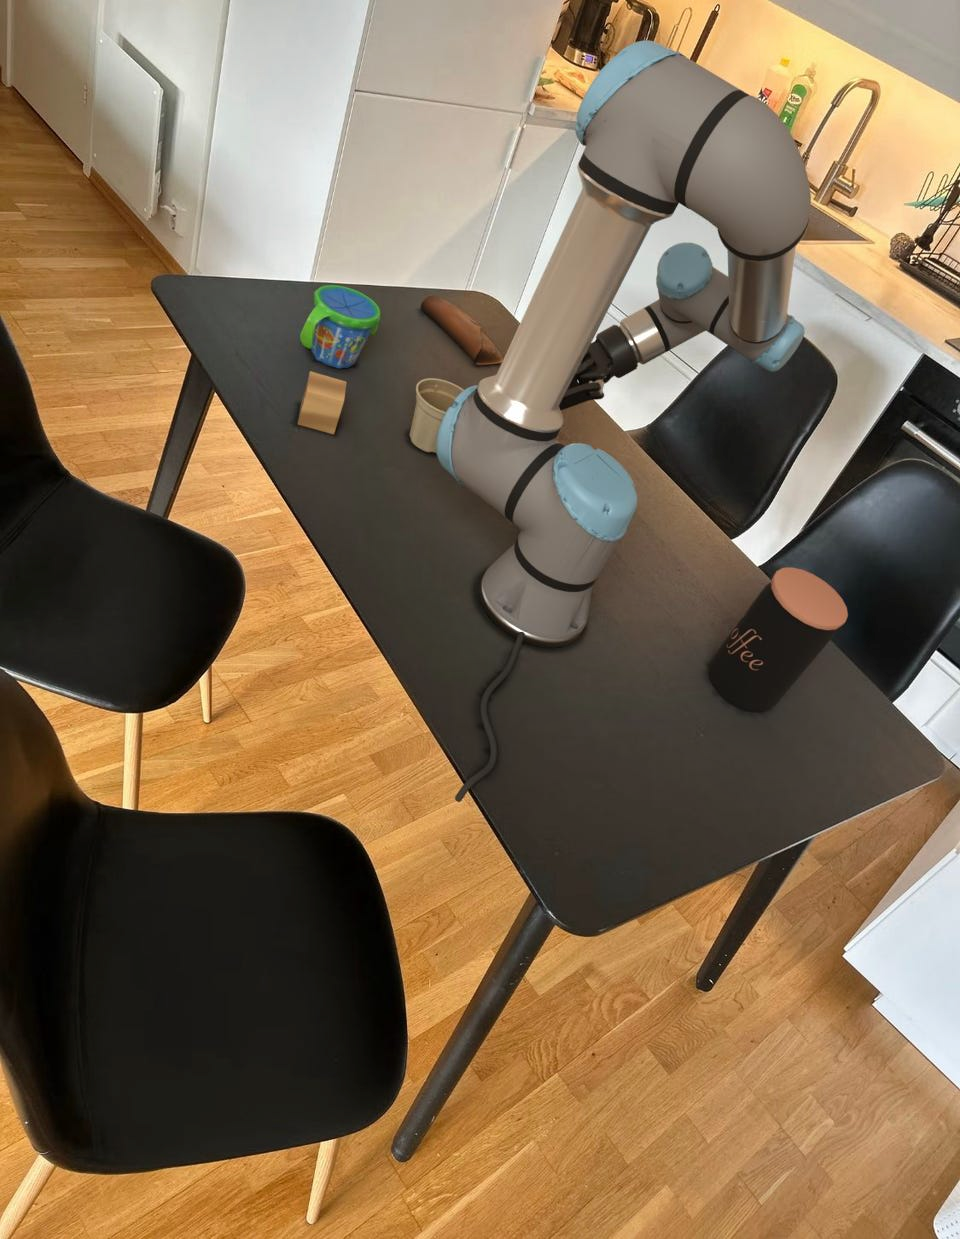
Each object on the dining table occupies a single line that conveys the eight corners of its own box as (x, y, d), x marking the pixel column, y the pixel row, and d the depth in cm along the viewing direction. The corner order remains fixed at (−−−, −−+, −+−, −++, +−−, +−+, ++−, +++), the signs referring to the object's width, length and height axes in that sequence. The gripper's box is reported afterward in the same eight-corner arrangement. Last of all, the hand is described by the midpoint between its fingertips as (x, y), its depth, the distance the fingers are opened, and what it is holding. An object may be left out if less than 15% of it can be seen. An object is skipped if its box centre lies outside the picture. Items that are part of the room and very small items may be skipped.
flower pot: (460, 437, 157) (478, 392, 152) (453, 468, 150) (472, 422, 145) (404, 416, 156) (421, 370, 150) (395, 447, 149) (411, 400, 143)
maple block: (334, 434, 145) (344, 401, 142) (297, 424, 144) (306, 390, 140) (336, 414, 149) (346, 381, 146) (300, 404, 148) (310, 370, 144)
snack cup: (349, 335, 168) (365, 281, 162) (387, 370, 164) (405, 316, 158) (275, 344, 158) (289, 286, 151) (313, 381, 154) (329, 324, 147)
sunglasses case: (508, 361, 181) (506, 334, 175) (477, 380, 179) (474, 353, 173) (452, 307, 188) (448, 280, 183) (422, 325, 187) (417, 298, 181)
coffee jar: (700, 649, 140) (767, 557, 128) (766, 669, 142) (837, 580, 130) (710, 704, 132) (782, 611, 120) (780, 724, 134) (857, 635, 122)
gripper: (651, 386, 149) (515, 461, 152) (620, 339, 157) (491, 411, 160) (638, 350, 143) (496, 429, 147) (606, 304, 151) (472, 380, 155)
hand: (493, 420), depth 153 cm, fingers closed
